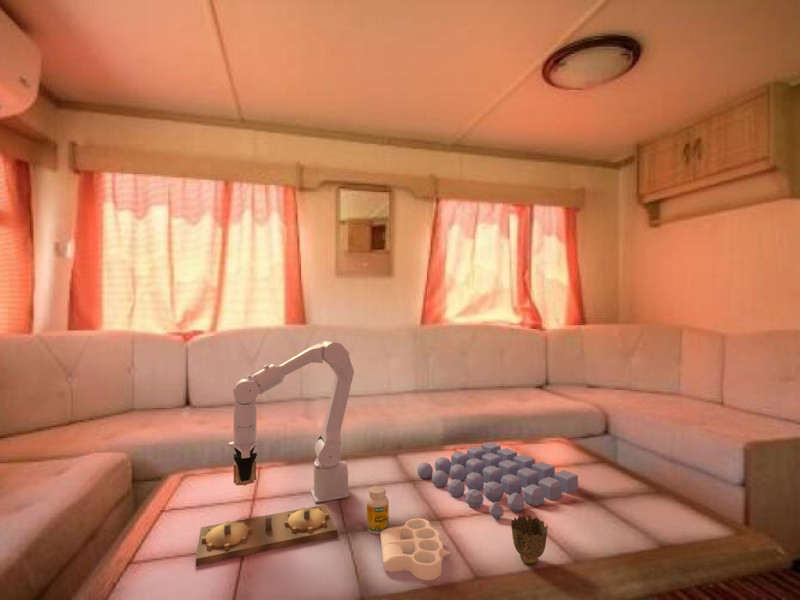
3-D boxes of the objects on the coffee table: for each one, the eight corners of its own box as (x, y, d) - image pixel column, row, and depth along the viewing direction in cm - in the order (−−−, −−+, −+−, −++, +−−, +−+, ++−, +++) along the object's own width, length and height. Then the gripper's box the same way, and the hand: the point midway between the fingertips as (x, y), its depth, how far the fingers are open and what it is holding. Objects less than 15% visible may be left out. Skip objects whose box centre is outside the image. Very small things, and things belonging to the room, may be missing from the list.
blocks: (578, 491, 121) (578, 475, 121) (496, 527, 102) (496, 507, 102) (490, 455, 150) (490, 441, 150) (414, 477, 131) (414, 462, 131)
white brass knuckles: (379, 534, 99) (439, 530, 100) (384, 585, 81) (457, 580, 82) (379, 519, 99) (439, 516, 100) (384, 567, 81) (457, 563, 82)
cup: (506, 551, 91) (506, 515, 91) (538, 549, 91) (538, 513, 92) (518, 573, 83) (518, 534, 83) (553, 571, 84) (553, 532, 84)
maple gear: (255, 475, 113) (255, 457, 113) (256, 483, 108) (256, 464, 108) (233, 478, 111) (233, 460, 111) (233, 487, 106) (233, 467, 106)
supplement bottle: (381, 520, 104) (381, 482, 104) (392, 530, 99) (392, 490, 99) (362, 526, 101) (362, 487, 101) (373, 537, 96) (373, 496, 96)
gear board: (325, 510, 109) (325, 495, 109) (336, 535, 97) (336, 518, 97) (200, 533, 98) (200, 516, 98) (195, 566, 86) (195, 546, 86)
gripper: (229, 419, 115) (229, 467, 115) (228, 434, 101) (228, 489, 101) (256, 416, 117) (255, 464, 117) (258, 431, 104) (258, 485, 104)
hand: (245, 475), depth 110 cm, fingers closed on maple gear, 6 cm apart
